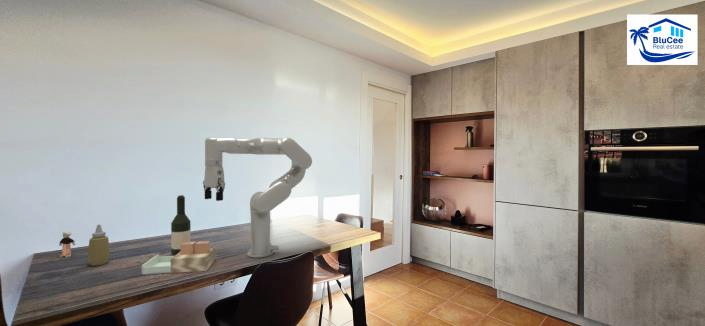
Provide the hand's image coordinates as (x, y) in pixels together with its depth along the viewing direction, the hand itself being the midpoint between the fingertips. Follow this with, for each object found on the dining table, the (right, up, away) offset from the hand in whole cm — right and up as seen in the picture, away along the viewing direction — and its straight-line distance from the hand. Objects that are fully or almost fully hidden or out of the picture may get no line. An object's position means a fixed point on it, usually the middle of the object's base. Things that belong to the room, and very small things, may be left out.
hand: (213, 199), depth 138 cm
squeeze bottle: (-50, -29, -5) cm, 58 cm away
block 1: (-7, -23, -8) cm, 26 cm away
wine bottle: (-20, -29, +8) cm, 36 cm away
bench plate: (-5, -29, -8) cm, 30 cm away
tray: (-17, -29, -10) cm, 35 cm away
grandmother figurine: (-76, -29, +6) cm, 81 cm away
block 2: (-2, -23, -7) cm, 24 cm away
